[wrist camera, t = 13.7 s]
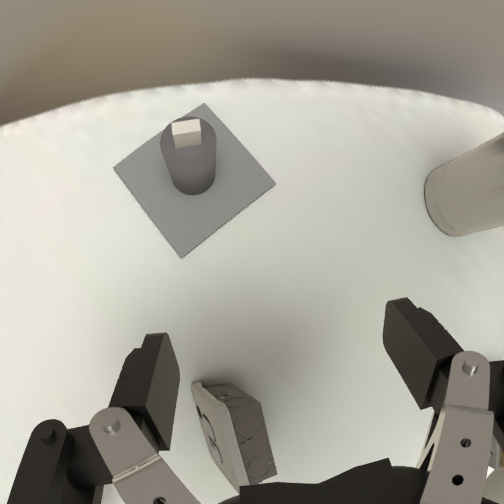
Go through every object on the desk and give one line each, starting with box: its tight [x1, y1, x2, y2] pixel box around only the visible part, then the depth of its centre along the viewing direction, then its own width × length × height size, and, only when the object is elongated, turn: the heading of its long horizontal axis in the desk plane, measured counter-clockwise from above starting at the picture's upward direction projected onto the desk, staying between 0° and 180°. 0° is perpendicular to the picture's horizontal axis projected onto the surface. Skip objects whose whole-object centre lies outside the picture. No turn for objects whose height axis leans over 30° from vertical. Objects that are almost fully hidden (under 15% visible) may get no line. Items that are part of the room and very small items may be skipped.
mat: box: [113, 103, 276, 258], centre depth 32 cm, size 12×12×1 cm
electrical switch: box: [191, 382, 277, 494], centre depth 26 cm, size 9×5×9 cm, turn 12°
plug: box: [160, 117, 217, 195], centre depth 26 cm, size 4×4×10 cm
